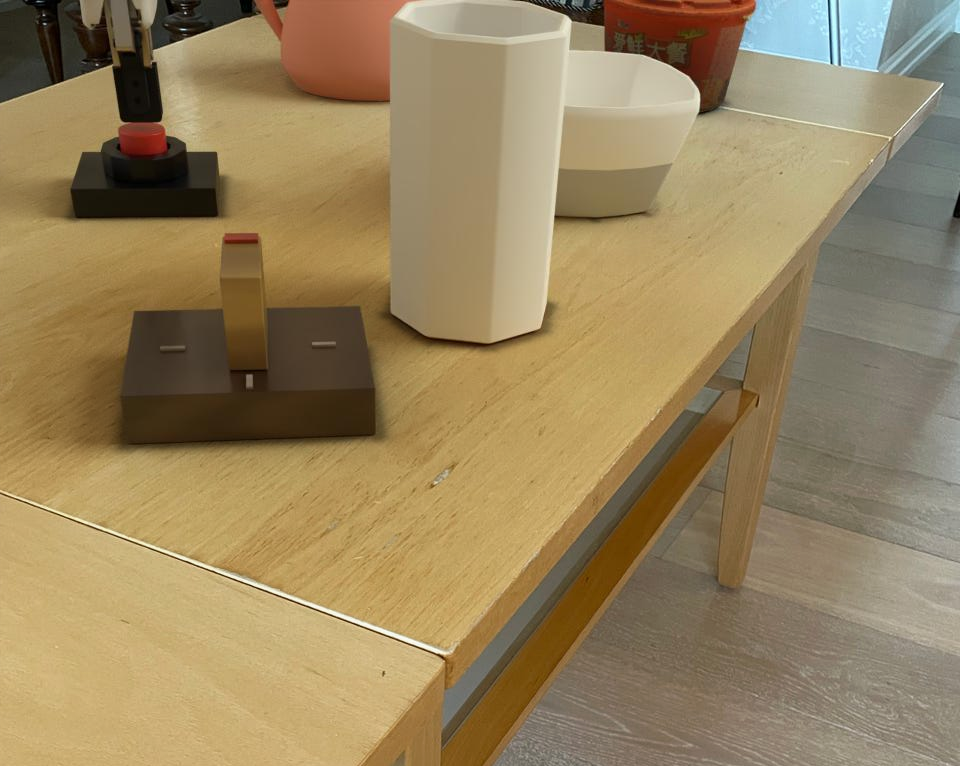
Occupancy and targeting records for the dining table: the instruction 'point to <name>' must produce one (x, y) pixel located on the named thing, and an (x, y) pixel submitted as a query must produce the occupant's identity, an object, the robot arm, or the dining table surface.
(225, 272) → the lock knob
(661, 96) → the bowl
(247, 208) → the dining table surface
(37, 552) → the dining table surface
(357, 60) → the teapot
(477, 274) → the cup
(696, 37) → the food container
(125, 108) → the robot arm
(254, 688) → the dining table surface
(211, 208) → the button block
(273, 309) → the plate
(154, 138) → the button
